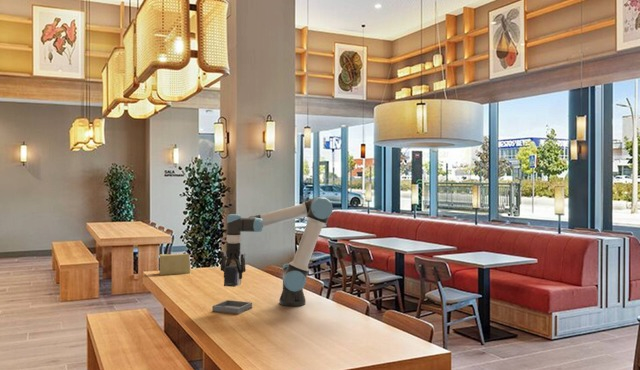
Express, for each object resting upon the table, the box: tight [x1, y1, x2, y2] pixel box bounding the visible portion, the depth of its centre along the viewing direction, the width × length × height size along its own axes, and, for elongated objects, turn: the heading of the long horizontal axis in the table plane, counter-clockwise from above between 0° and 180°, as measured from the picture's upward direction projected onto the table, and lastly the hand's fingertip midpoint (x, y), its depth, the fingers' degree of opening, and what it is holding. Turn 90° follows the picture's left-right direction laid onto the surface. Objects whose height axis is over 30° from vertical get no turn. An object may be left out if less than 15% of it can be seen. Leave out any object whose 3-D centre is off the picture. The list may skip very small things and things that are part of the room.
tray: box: [211, 299, 253, 315], centre depth 284 cm, size 16×16×3 cm
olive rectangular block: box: [159, 253, 191, 276], centre depth 392 cm, size 22×10×15 cm, turn 109°
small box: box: [223, 263, 239, 288], centre depth 284 cm, size 11×6×10 cm, turn 168°
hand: (232, 284), depth 284 cm, fingers closed on small box, 7 cm apart
